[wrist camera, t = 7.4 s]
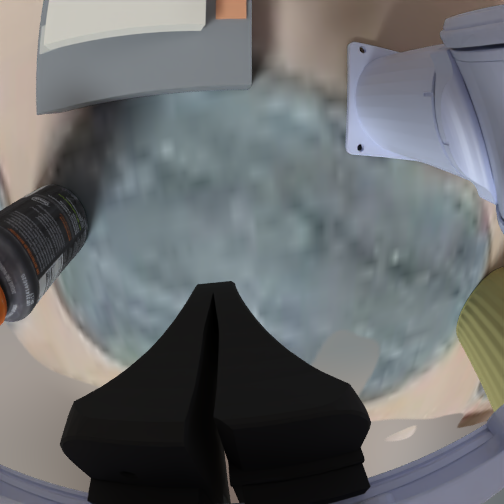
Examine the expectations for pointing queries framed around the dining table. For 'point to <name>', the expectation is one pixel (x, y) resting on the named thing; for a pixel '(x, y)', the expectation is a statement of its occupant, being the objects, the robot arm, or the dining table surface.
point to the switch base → (148, 62)
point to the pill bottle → (37, 246)
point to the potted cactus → (486, 334)
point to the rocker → (118, 19)
